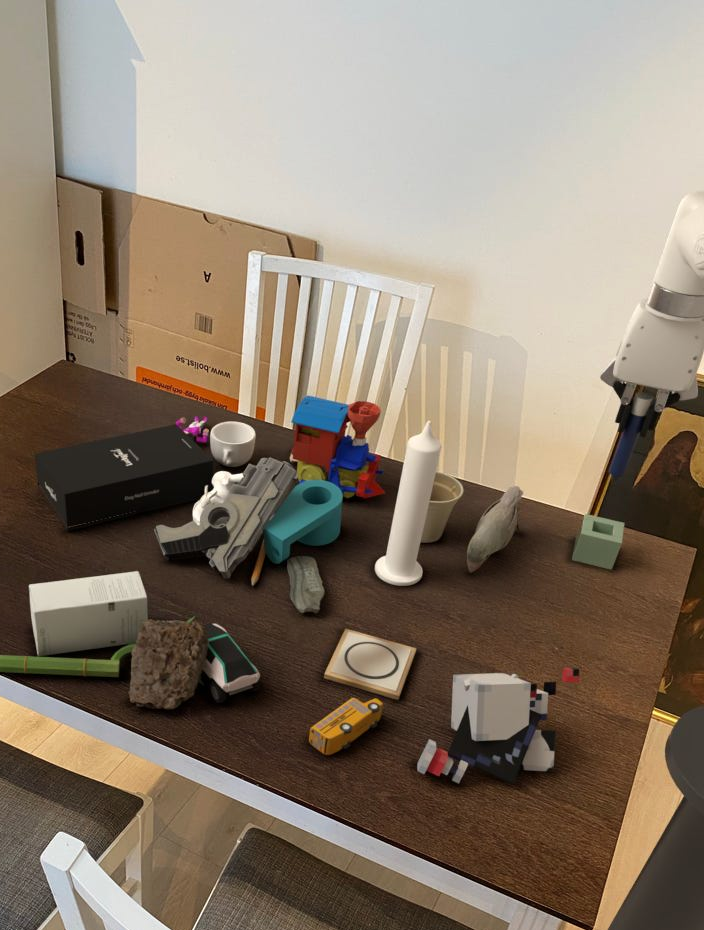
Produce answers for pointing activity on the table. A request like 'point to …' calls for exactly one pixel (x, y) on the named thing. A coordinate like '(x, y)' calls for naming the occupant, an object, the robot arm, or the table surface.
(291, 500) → the teal mechanical bracket
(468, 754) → the toy
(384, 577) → the candle
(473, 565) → the decorative bird
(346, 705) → the toy bus
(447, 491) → the flower pot
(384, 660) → the framed picture
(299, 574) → the stone
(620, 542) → the pen stand
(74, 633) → the cosmetic box
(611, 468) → the marker
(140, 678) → the concrete sample
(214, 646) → the toy car
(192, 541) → the toy gun
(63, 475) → the box
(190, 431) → the character figurine
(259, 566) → the pencil
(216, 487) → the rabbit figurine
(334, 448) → the toy train
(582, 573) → the table surface
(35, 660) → the decorative plant
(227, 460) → the teacup
